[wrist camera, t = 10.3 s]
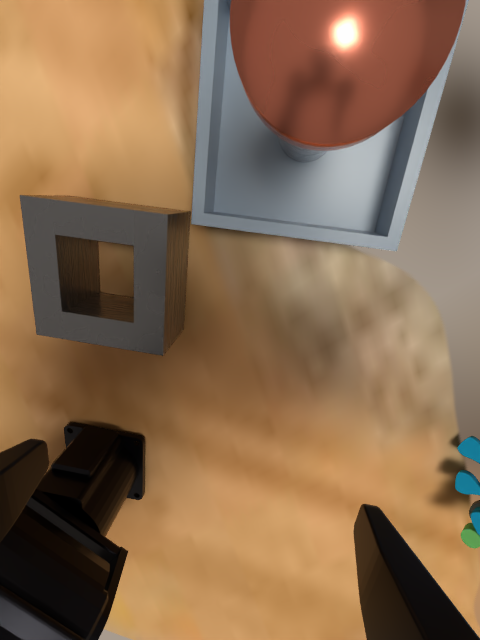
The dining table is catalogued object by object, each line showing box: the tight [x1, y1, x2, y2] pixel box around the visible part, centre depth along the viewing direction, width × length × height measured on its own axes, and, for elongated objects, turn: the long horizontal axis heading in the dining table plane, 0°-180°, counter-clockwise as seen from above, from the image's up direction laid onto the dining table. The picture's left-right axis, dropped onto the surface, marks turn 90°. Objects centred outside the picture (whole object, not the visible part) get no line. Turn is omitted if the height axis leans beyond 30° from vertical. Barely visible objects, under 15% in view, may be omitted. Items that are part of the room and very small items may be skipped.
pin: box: [230, 0, 466, 162], centre depth 11 cm, size 4×4×11 cm
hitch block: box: [20, 195, 190, 356], centre depth 19 cm, size 8×8×4 cm
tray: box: [191, 0, 469, 251], centre depth 16 cm, size 10×10×3 cm
